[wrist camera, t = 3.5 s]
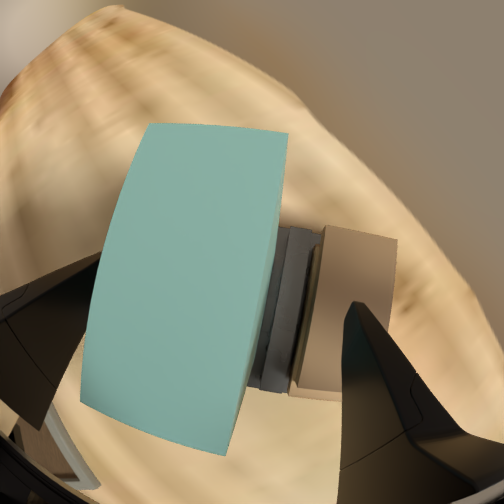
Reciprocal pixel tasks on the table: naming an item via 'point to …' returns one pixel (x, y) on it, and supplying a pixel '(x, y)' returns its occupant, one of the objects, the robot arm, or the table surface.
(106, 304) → the teal rectangular block
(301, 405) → the table surface
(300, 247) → the rack
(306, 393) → the offcut middle
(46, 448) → the picture frame
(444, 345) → the table surface
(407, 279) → the table surface
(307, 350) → the offcut top
